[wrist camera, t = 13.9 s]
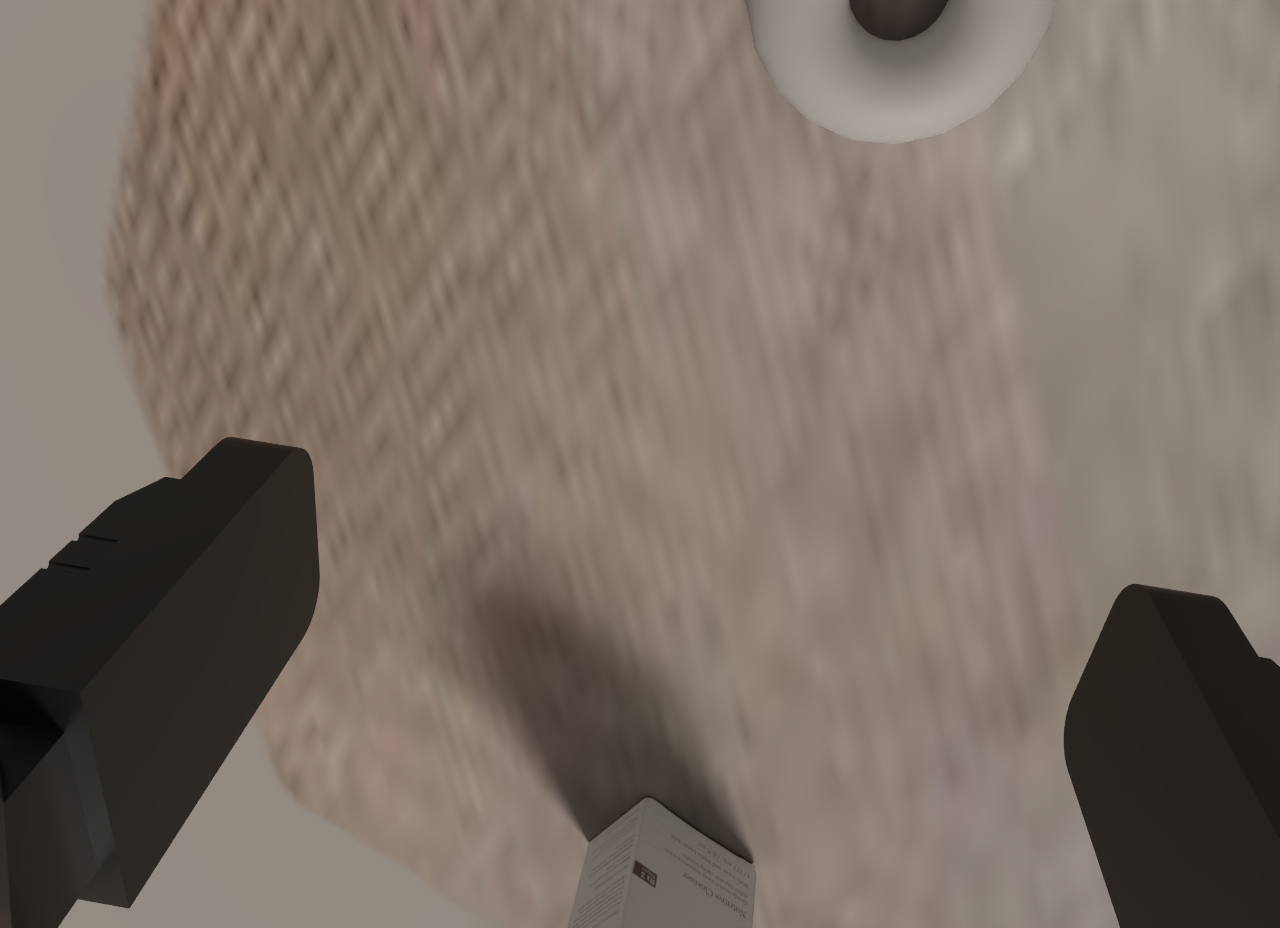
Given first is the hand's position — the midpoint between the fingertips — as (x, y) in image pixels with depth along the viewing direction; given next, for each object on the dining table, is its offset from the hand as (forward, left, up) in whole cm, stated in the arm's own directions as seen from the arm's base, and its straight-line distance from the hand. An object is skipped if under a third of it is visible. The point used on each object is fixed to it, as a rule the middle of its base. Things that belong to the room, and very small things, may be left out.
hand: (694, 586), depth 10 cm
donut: (-4, -4, -31) cm, 31 cm away
